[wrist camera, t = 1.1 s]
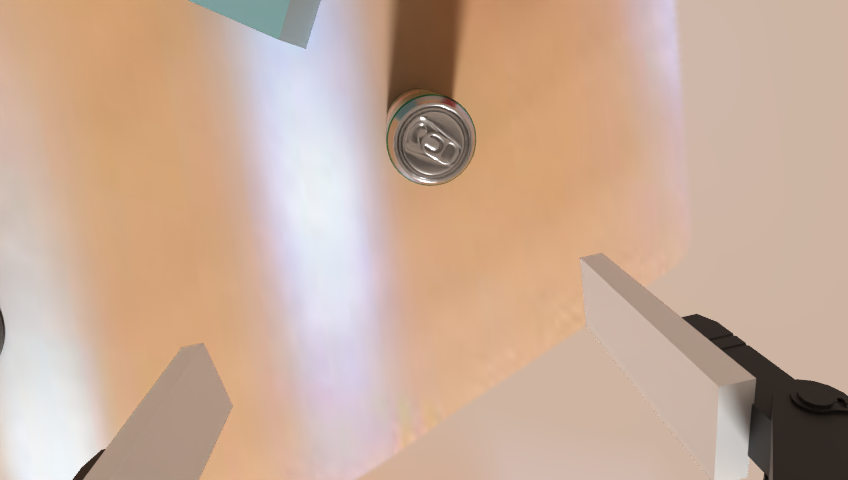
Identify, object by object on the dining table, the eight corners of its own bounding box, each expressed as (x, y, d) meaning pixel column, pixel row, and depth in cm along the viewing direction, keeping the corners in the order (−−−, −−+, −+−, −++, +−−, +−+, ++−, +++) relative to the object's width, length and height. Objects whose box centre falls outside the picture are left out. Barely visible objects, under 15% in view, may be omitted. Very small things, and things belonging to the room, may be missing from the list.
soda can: (405, 75, 33) (414, 75, 22) (461, 109, 35) (497, 125, 23) (375, 135, 35) (369, 163, 24) (430, 165, 36) (450, 205, 25)
